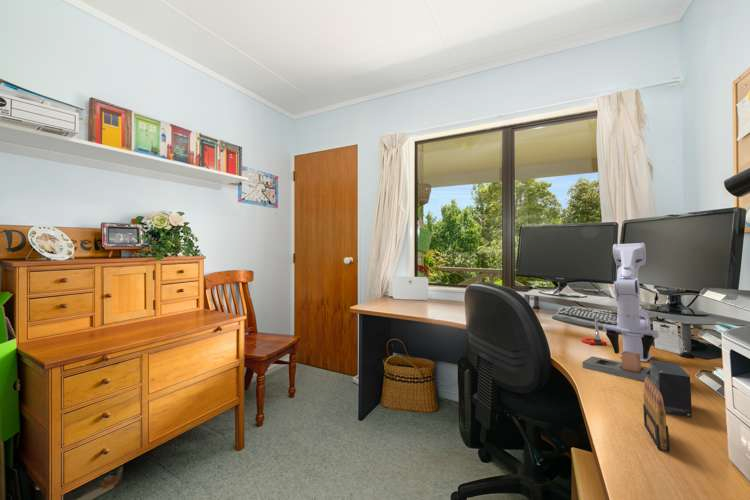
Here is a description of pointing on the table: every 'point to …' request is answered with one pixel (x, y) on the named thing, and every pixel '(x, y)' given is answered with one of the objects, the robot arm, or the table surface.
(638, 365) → the peg
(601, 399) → the table surface
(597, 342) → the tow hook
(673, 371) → the small box
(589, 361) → the grey slotted board
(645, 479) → the table surface
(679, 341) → the ink box
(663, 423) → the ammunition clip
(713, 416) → the table surface
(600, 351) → the table surface
